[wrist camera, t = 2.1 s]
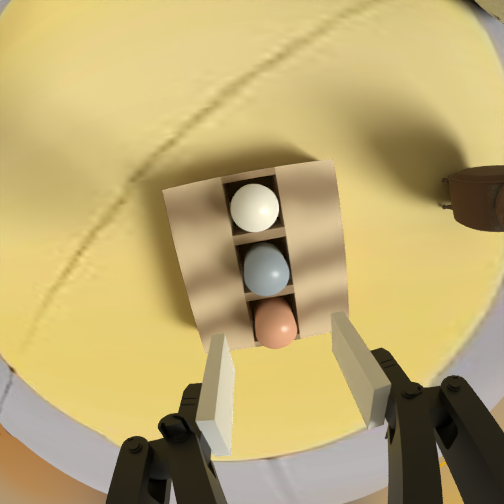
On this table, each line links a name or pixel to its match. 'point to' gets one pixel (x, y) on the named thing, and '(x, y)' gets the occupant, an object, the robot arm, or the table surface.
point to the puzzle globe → (493, 8)
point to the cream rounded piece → (254, 208)
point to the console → (288, 227)
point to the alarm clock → (478, 197)
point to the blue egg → (265, 269)
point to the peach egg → (274, 323)
